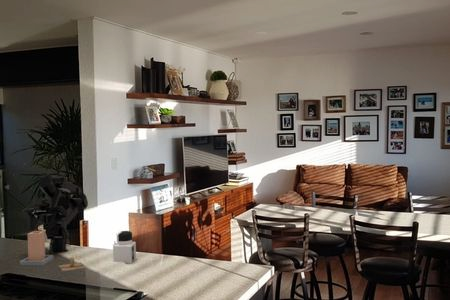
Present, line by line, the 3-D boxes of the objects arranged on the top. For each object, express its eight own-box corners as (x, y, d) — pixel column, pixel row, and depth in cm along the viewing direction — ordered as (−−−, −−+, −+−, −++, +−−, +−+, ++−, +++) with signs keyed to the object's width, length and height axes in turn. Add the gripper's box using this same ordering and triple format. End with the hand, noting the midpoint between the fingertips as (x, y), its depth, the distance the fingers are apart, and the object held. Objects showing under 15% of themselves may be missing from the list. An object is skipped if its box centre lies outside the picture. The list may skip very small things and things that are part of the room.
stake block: (58, 267, 187) (58, 257, 187) (81, 264, 192) (80, 254, 192) (62, 273, 180) (62, 262, 179) (85, 269, 184) (85, 258, 184)
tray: (31, 260, 199) (31, 255, 199) (53, 260, 199) (53, 255, 198) (19, 267, 189) (19, 261, 189) (42, 267, 189) (42, 261, 188)
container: (136, 259, 199) (135, 229, 198) (131, 264, 191) (130, 233, 191) (119, 258, 200) (118, 229, 199) (113, 263, 192) (112, 233, 192)
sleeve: (34, 261, 197) (33, 231, 196) (45, 260, 196) (44, 231, 196) (28, 264, 192) (27, 233, 191) (39, 264, 191) (38, 233, 191)
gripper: (24, 191, 206) (11, 221, 196) (59, 188, 201) (47, 219, 191) (38, 204, 214) (26, 234, 204) (72, 202, 209) (61, 232, 199)
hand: (39, 229), depth 199 cm, fingers open, 9 cm apart
